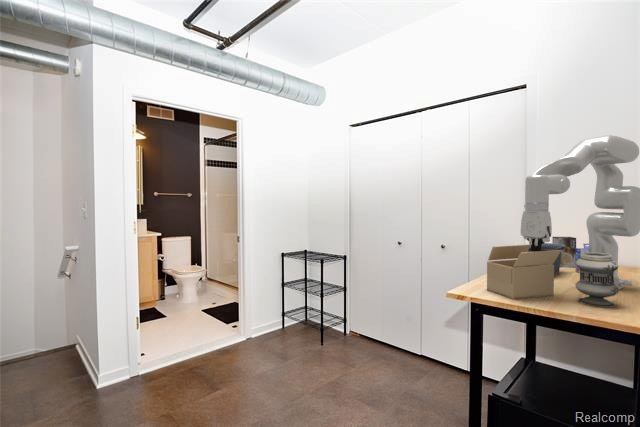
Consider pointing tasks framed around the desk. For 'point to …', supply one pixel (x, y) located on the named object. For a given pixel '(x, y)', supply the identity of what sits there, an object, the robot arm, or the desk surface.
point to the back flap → (507, 252)
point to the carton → (520, 279)
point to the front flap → (537, 258)
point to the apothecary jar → (597, 278)
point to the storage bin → (548, 248)
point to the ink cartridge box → (579, 253)
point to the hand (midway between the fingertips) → (535, 255)
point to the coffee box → (567, 250)
